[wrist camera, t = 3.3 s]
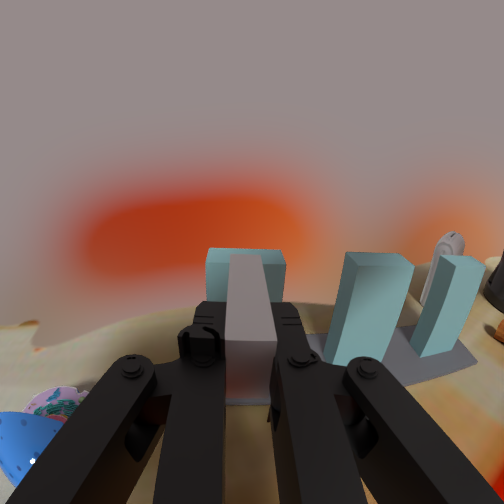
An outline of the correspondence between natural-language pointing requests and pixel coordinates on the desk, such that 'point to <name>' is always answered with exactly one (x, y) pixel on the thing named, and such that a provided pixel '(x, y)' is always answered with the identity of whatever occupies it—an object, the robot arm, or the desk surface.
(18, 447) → the cell model
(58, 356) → the desk surface
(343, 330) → the tile
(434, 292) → the tile
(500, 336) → the kendama
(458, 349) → the mat
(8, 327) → the desk surface
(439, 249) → the photo printer
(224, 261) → the tile
